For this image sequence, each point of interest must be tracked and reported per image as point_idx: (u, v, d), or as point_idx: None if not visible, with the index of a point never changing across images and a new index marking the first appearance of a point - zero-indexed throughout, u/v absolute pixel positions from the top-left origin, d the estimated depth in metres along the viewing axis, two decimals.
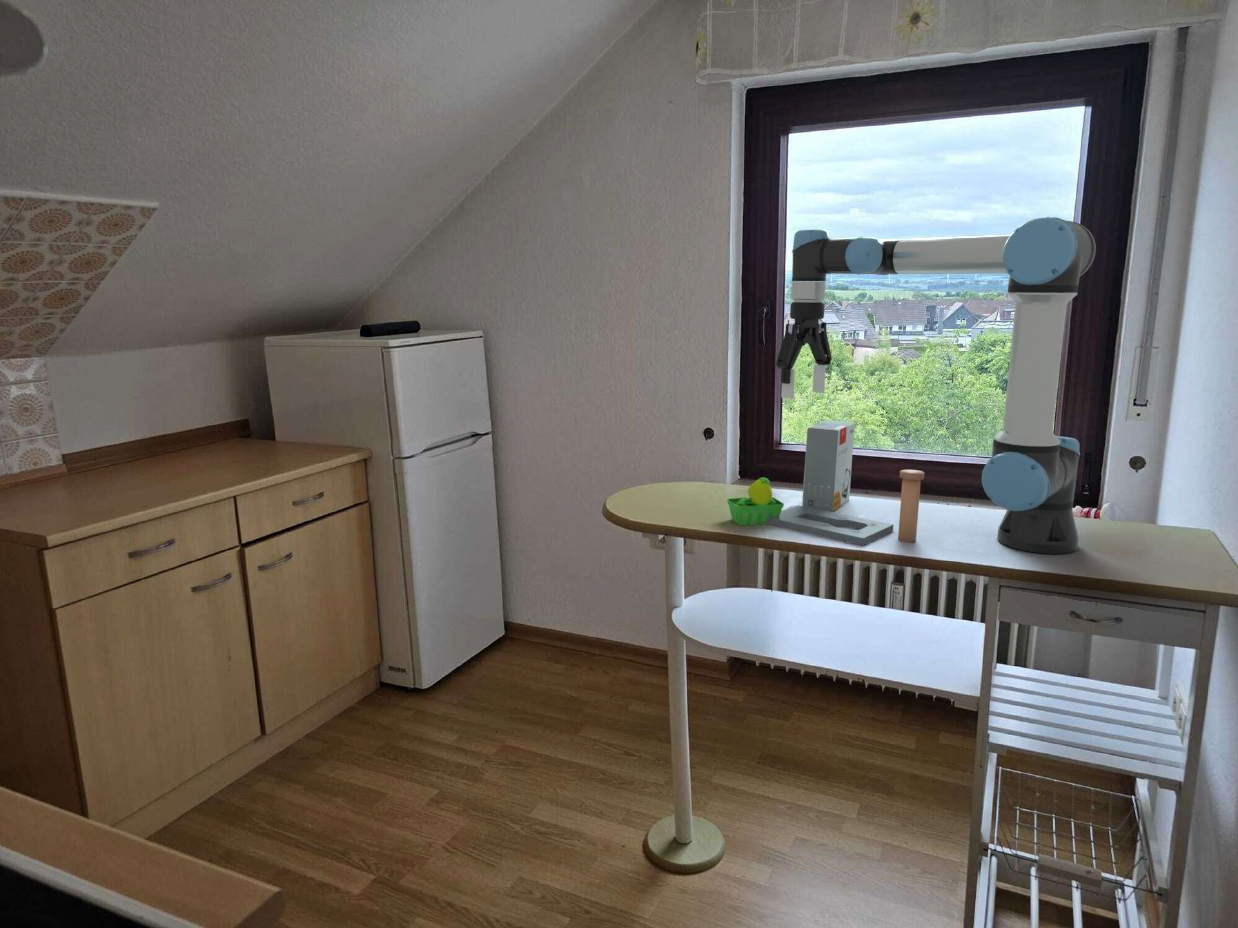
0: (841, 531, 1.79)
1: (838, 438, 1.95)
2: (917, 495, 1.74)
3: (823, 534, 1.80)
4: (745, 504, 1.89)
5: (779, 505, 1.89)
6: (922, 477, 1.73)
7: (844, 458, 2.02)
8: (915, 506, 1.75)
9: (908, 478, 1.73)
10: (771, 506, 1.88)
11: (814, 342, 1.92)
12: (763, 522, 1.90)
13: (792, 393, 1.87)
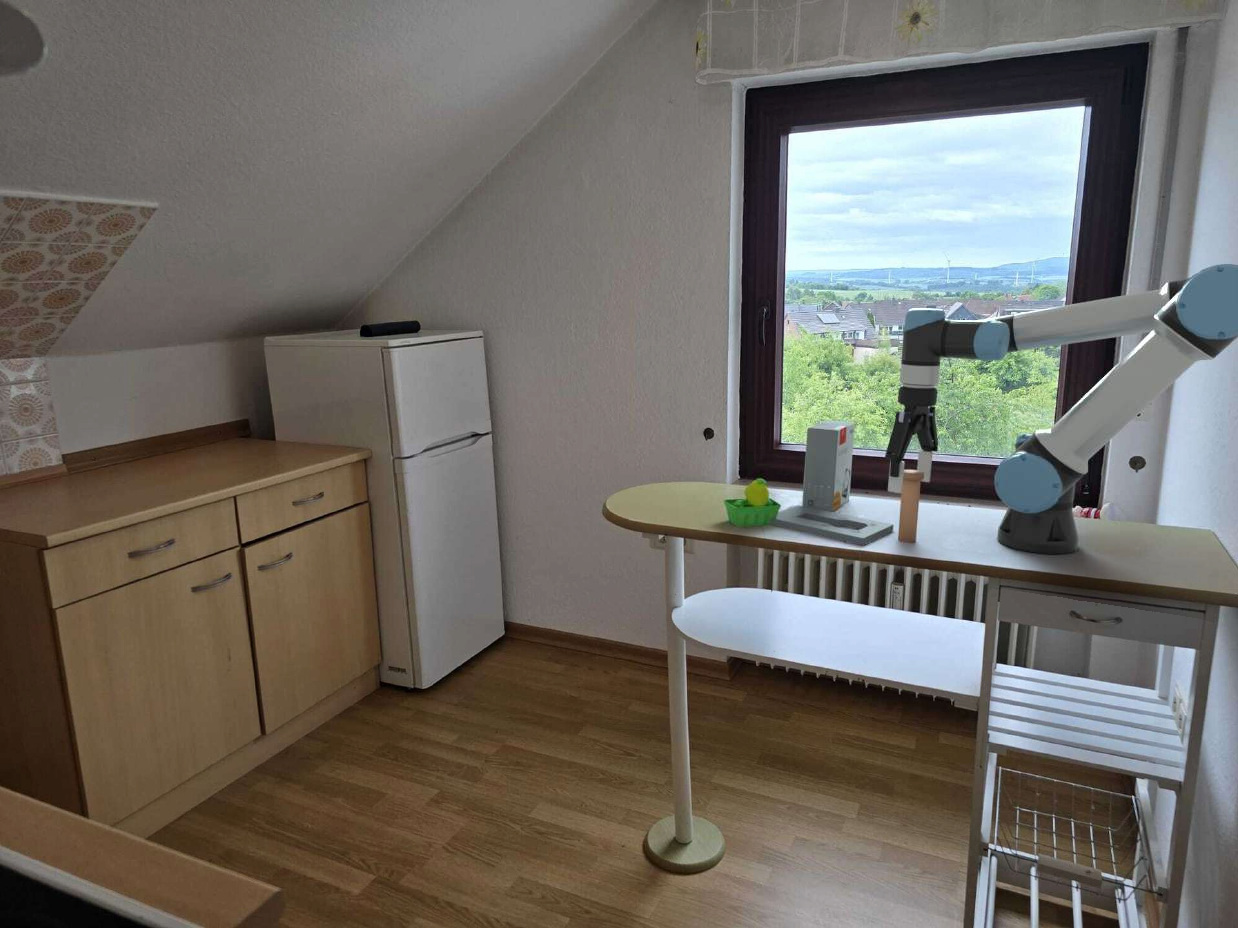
0: (841, 531, 1.79)
1: (838, 438, 1.95)
2: (917, 495, 1.74)
3: (823, 534, 1.80)
4: (741, 505, 1.88)
5: (776, 506, 1.88)
6: (922, 477, 1.73)
7: (844, 458, 2.02)
8: (914, 506, 1.75)
9: (908, 478, 1.73)
10: (768, 507, 1.87)
11: (922, 428, 1.75)
12: (760, 523, 1.89)
13: (900, 487, 1.70)
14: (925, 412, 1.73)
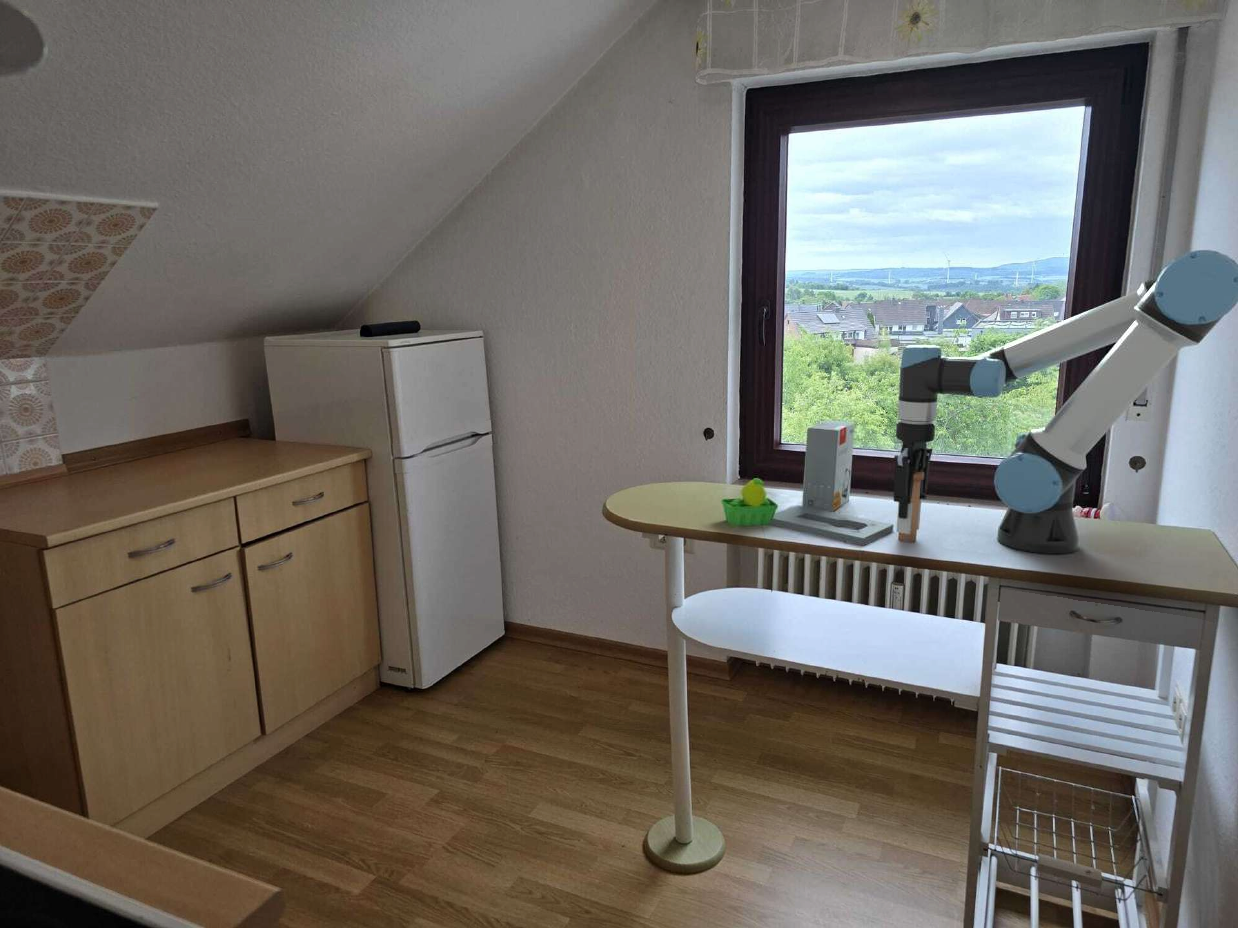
0: (841, 531, 1.79)
1: (838, 438, 1.95)
2: (917, 495, 1.74)
3: (823, 534, 1.80)
4: (738, 505, 1.88)
5: (773, 506, 1.88)
6: (922, 477, 1.73)
7: (844, 458, 2.02)
8: (915, 506, 1.75)
9: None
10: (764, 507, 1.87)
11: (917, 466, 1.75)
12: (757, 523, 1.89)
13: (909, 528, 1.75)
14: (924, 445, 1.75)
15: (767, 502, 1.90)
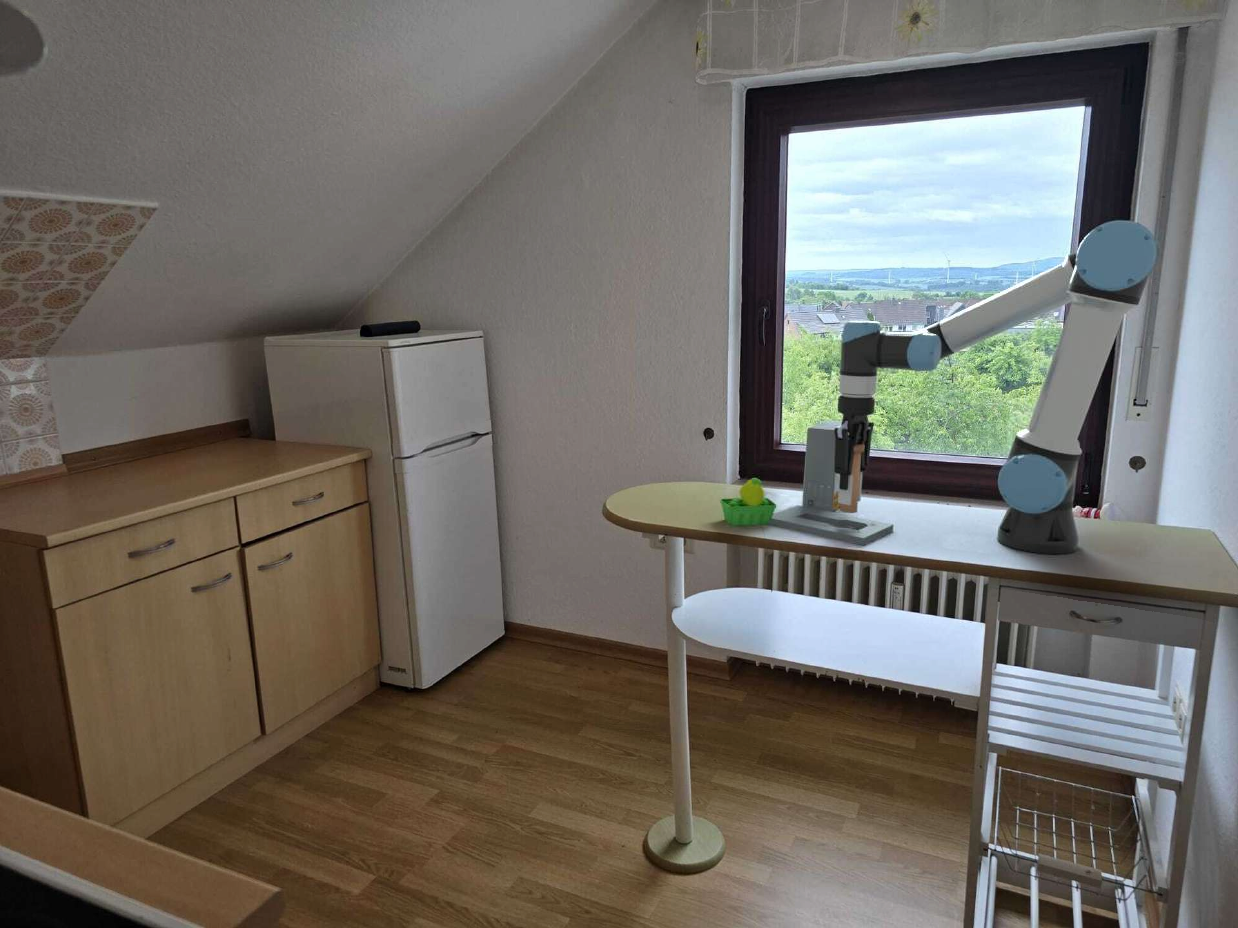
0: (841, 531, 1.79)
1: None
2: (857, 467, 1.79)
3: (823, 534, 1.80)
4: (736, 505, 1.88)
5: (771, 506, 1.88)
6: (862, 449, 1.78)
7: None
8: (855, 478, 1.80)
9: None
10: (763, 507, 1.87)
11: (858, 439, 1.80)
12: (755, 523, 1.89)
13: (849, 499, 1.80)
14: (865, 418, 1.80)
15: (766, 502, 1.90)
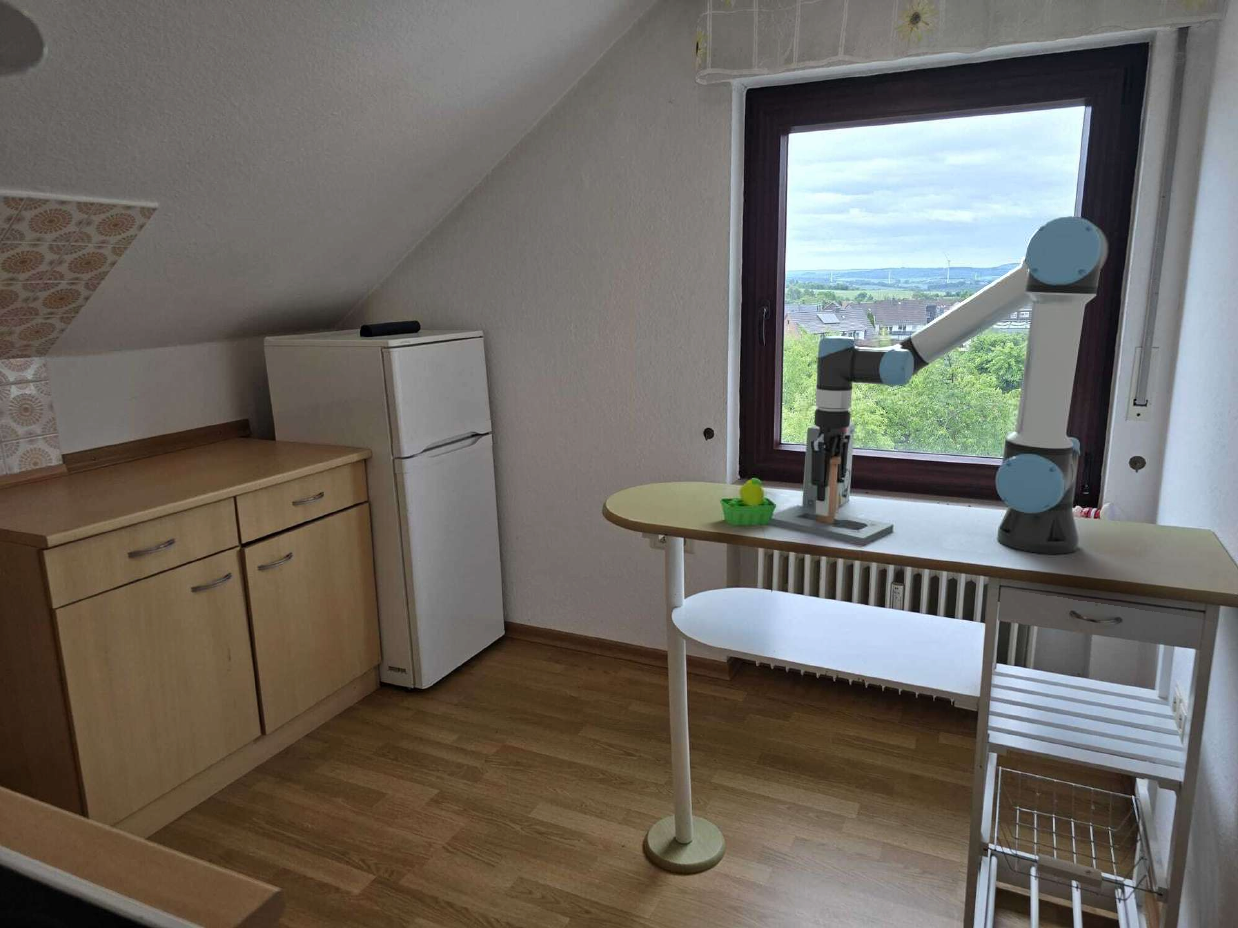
0: (841, 531, 1.79)
1: None
2: (834, 479, 1.84)
3: (823, 534, 1.80)
4: (736, 505, 1.88)
5: (771, 506, 1.88)
6: (838, 461, 1.83)
7: None
8: (832, 489, 1.84)
9: None
10: (763, 507, 1.87)
11: (835, 452, 1.84)
12: (755, 523, 1.89)
13: (826, 510, 1.84)
14: (841, 431, 1.84)
15: (765, 502, 1.90)
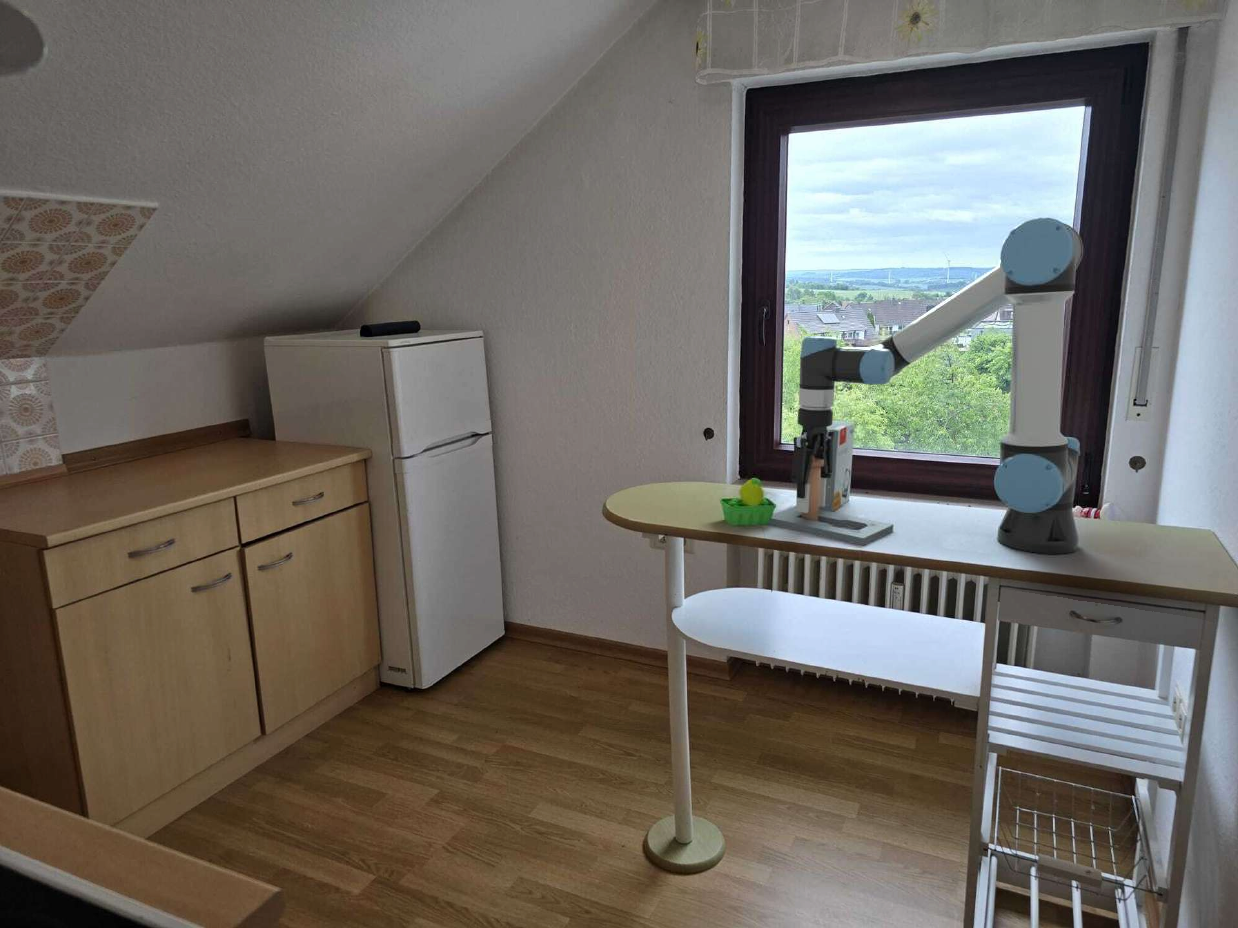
0: (841, 531, 1.79)
1: (838, 438, 1.95)
2: (817, 481, 1.87)
3: (823, 534, 1.80)
4: (736, 505, 1.88)
5: (771, 506, 1.88)
6: (821, 464, 1.86)
7: (844, 458, 2.02)
8: (815, 492, 1.87)
9: None
10: (762, 507, 1.87)
11: (819, 449, 1.88)
12: (755, 523, 1.89)
13: (807, 507, 1.86)
14: (823, 430, 1.87)
15: (765, 502, 1.90)
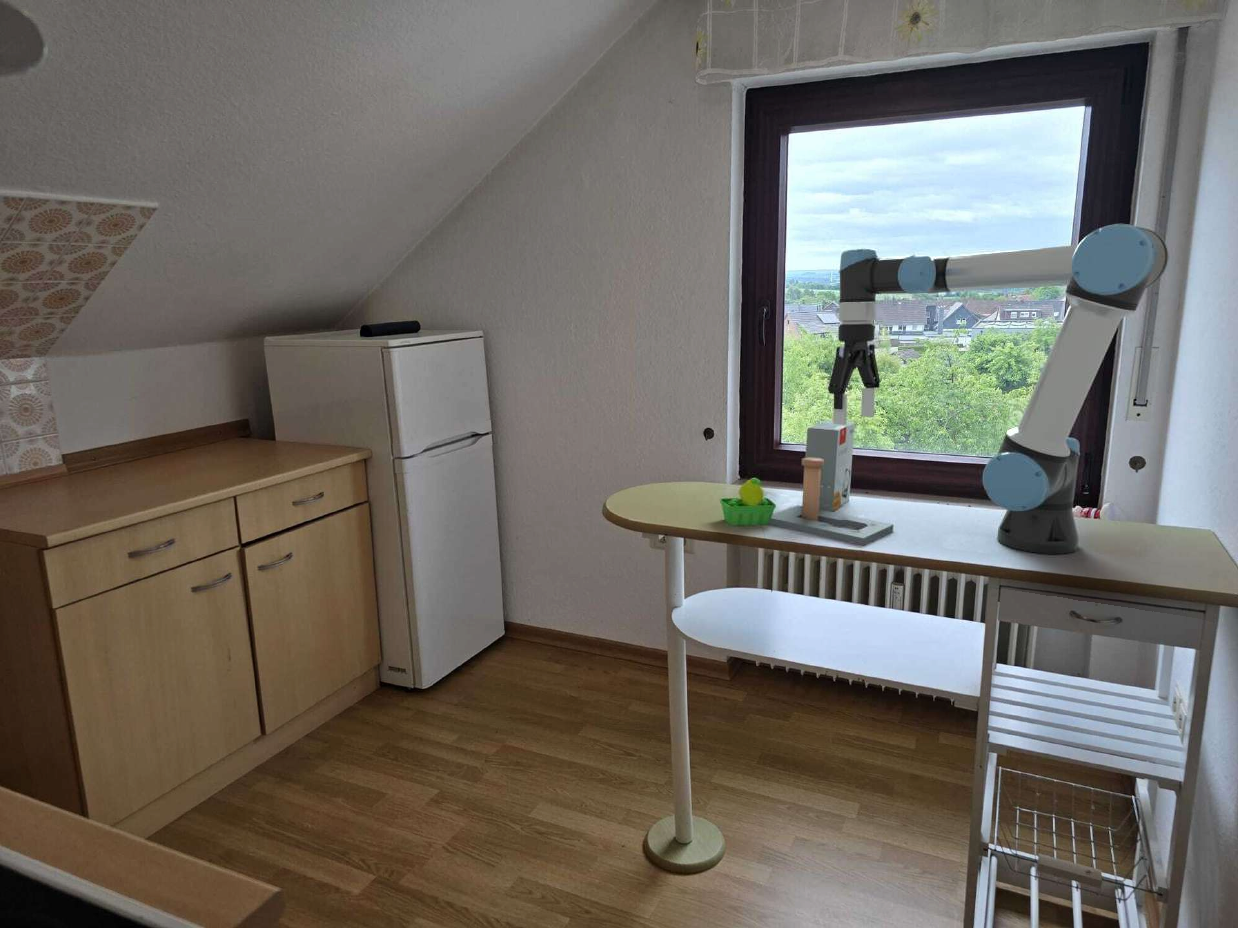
0: (841, 531, 1.79)
1: (838, 438, 1.95)
2: (817, 481, 1.87)
3: (823, 534, 1.80)
4: (736, 504, 1.88)
5: (770, 506, 1.88)
6: (821, 464, 1.86)
7: (844, 458, 2.02)
8: (815, 492, 1.87)
9: (808, 465, 1.85)
10: (762, 507, 1.87)
11: (863, 365, 1.85)
12: (754, 523, 1.89)
13: (845, 419, 1.79)
14: (865, 349, 1.83)
15: (765, 502, 1.90)
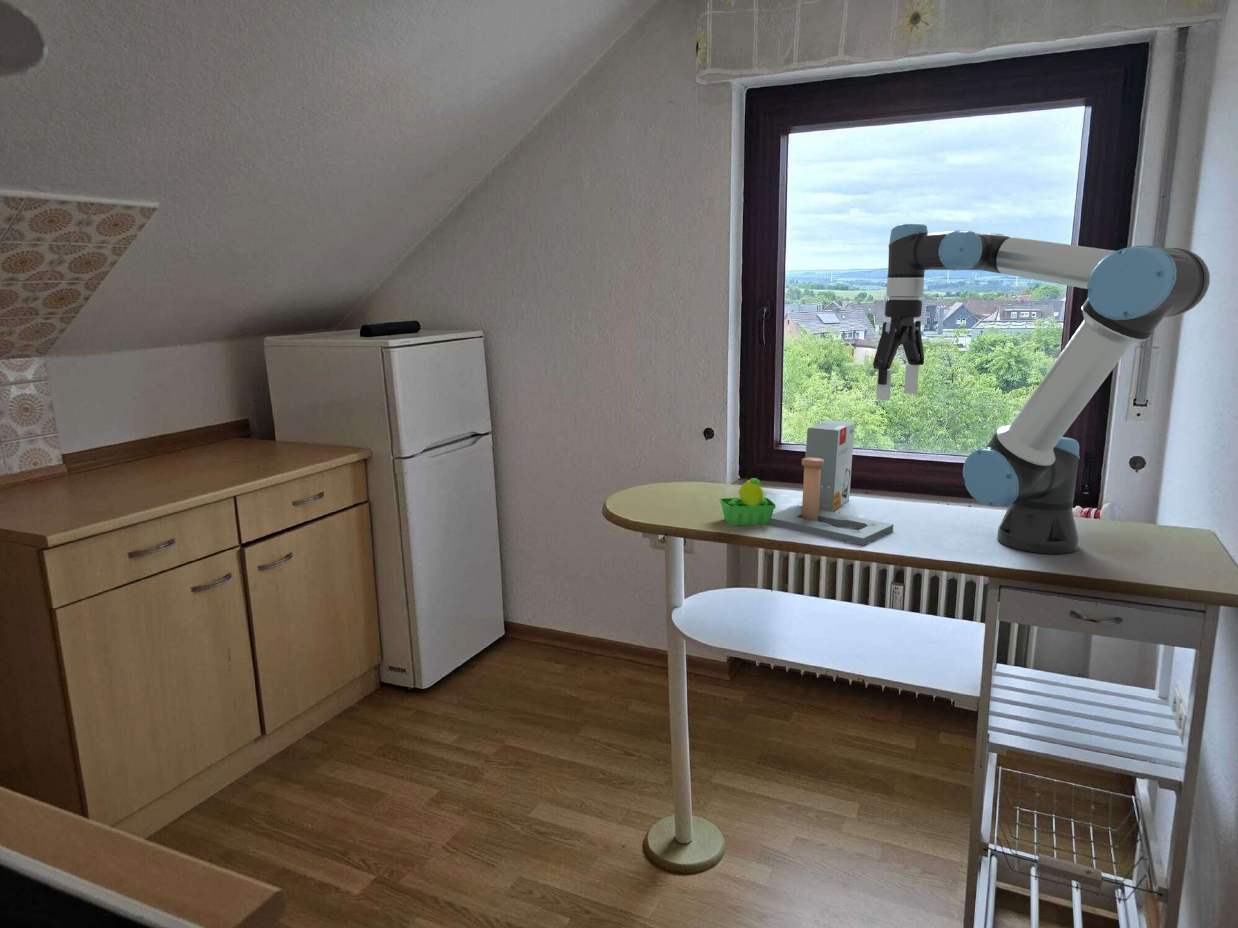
0: (841, 531, 1.79)
1: (838, 438, 1.95)
2: (817, 481, 1.87)
3: (823, 534, 1.80)
4: (736, 504, 1.88)
5: (770, 506, 1.88)
6: (821, 464, 1.86)
7: (844, 458, 2.02)
8: (815, 492, 1.87)
9: (808, 465, 1.85)
10: (762, 507, 1.87)
11: (909, 341, 1.84)
12: (754, 523, 1.89)
13: (888, 394, 1.79)
14: (911, 325, 1.83)
15: (765, 502, 1.90)
